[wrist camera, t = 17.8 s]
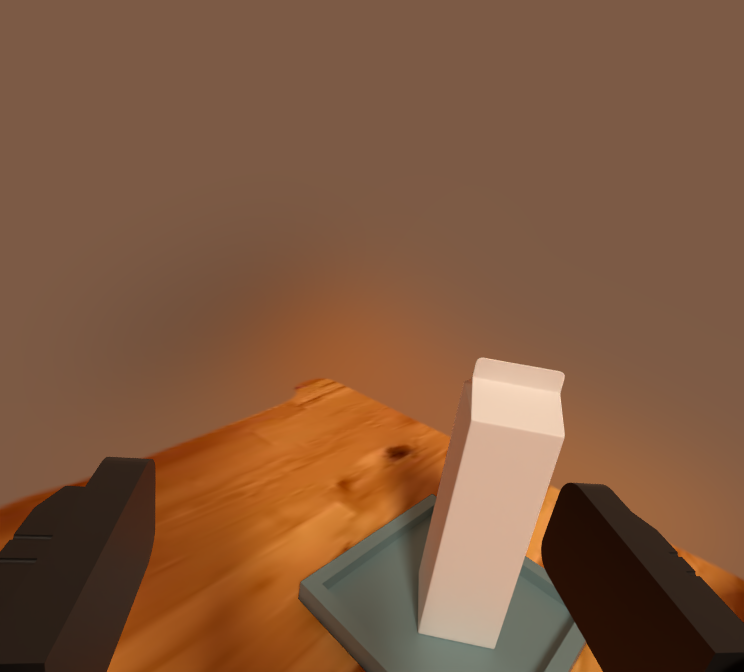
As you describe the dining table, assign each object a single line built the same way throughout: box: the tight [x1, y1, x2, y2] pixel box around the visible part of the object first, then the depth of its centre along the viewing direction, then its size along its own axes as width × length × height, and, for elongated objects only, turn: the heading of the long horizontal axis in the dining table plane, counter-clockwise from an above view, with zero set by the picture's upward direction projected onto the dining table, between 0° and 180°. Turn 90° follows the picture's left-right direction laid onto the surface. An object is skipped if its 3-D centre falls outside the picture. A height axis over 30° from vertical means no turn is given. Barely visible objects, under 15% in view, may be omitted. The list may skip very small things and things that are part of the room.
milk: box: [418, 358, 565, 649], centre depth 35 cm, size 6×6×22 cm
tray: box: [298, 494, 586, 672], centre depth 39 cm, size 18×18×2 cm
